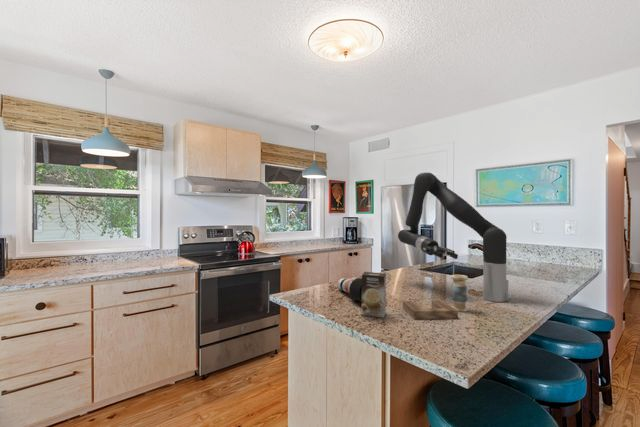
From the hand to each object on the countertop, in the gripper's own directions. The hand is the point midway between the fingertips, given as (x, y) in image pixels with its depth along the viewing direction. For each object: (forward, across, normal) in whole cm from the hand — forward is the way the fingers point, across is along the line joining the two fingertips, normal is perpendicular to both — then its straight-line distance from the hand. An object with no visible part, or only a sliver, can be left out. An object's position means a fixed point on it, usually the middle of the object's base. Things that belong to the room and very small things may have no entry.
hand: (449, 256), depth 135 cm
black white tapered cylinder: (-18, -34, +29) cm, 49 cm away
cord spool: (+14, -2, +18) cm, 23 cm away
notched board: (+13, -16, +20) cm, 29 cm away
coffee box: (+8, -38, +24) cm, 45 cm away
